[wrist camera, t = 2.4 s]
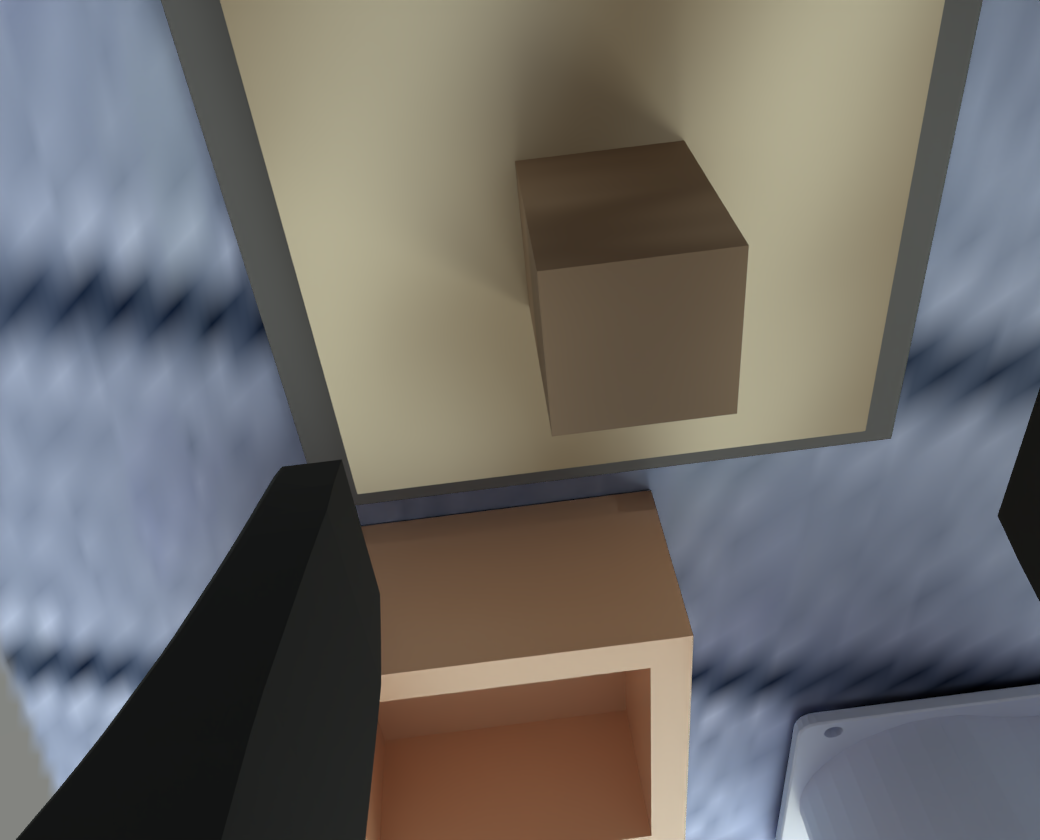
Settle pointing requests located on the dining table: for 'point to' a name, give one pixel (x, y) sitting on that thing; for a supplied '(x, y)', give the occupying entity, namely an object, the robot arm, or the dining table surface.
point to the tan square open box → (531, 675)
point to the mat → (285, 316)
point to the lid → (587, 218)
